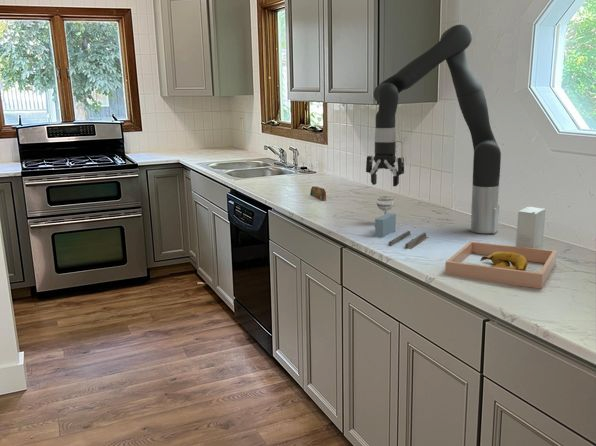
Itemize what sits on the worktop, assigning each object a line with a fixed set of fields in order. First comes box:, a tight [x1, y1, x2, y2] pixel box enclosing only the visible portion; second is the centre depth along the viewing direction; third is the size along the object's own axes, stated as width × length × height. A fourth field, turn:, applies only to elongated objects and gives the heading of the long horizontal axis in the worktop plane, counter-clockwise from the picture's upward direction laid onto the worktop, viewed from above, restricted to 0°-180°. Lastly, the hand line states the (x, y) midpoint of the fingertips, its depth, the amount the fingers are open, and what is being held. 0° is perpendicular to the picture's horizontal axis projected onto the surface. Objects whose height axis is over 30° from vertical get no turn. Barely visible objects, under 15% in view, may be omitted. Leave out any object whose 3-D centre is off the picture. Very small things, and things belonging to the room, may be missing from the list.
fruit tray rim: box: [444, 241, 558, 289], centre depth 169 cm, size 26×26×4 cm
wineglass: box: [376, 195, 395, 215], centre depth 224 cm, size 7×7×12 cm
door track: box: [388, 230, 429, 250], centre depth 199 cm, size 9×18×2 cm, turn 149°
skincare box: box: [515, 206, 546, 249], centre depth 182 cm, size 8×6×15 cm
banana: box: [479, 252, 528, 271], centre depth 166 cm, size 15×19×6 cm
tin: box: [309, 186, 327, 202], centre depth 277 cm, size 15×3×8 cm, turn 19°
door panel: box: [374, 212, 397, 238], centre depth 209 cm, size 3×12×8 cm, turn 149°
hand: (384, 185), depth 208 cm, fingers open, 8 cm apart
